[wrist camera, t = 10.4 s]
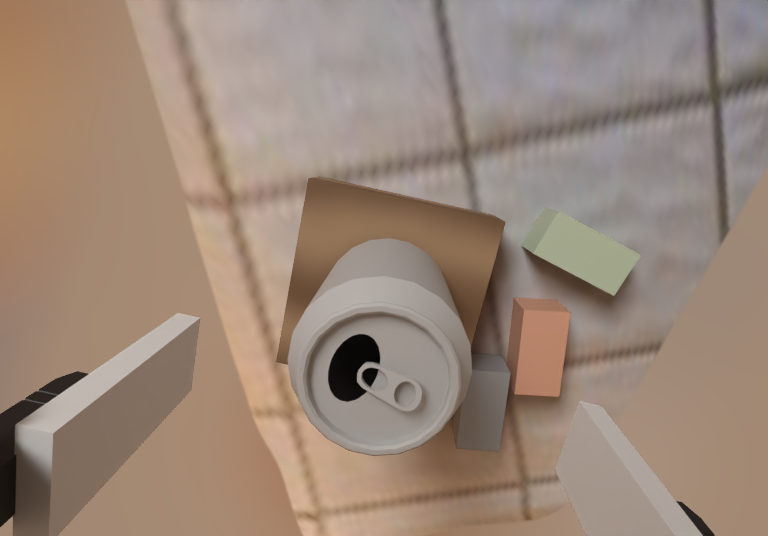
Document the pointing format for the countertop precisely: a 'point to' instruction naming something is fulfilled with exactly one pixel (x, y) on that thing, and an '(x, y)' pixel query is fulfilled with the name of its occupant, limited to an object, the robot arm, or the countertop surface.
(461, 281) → the walnut block
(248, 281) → the countertop surface
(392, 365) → the can
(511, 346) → the brick terracotta
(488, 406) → the brick slate
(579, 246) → the brick sage
